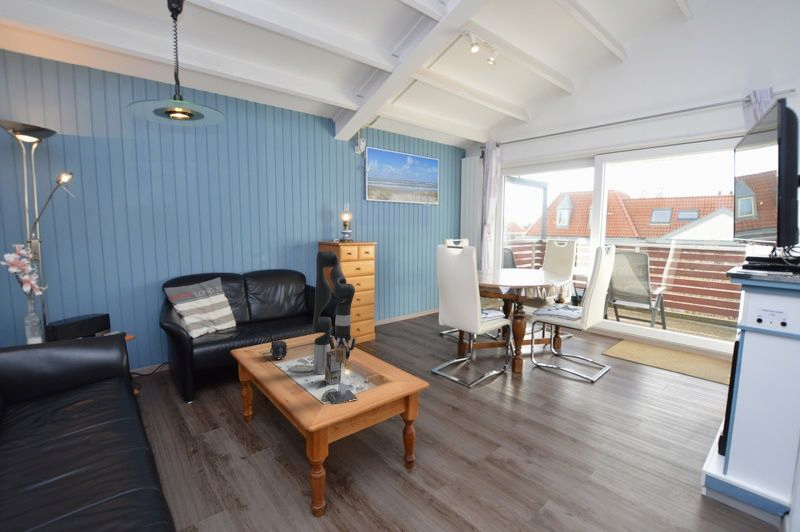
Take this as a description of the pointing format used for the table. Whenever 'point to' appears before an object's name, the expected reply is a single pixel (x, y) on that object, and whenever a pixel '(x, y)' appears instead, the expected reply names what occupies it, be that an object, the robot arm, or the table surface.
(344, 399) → the stub plate
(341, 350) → the brown block
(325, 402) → the table surface
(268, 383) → the table surface
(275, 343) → the camera
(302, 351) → the table surface
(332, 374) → the coffee box
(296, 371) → the table surface
